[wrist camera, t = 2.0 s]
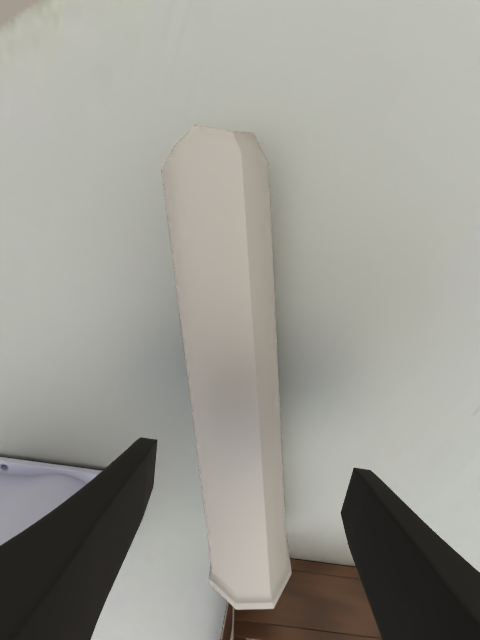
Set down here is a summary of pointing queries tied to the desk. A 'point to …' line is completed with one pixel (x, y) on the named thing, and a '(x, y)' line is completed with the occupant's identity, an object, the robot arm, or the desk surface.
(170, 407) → the desk surface
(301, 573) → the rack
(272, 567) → the tube
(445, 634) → the robot arm
